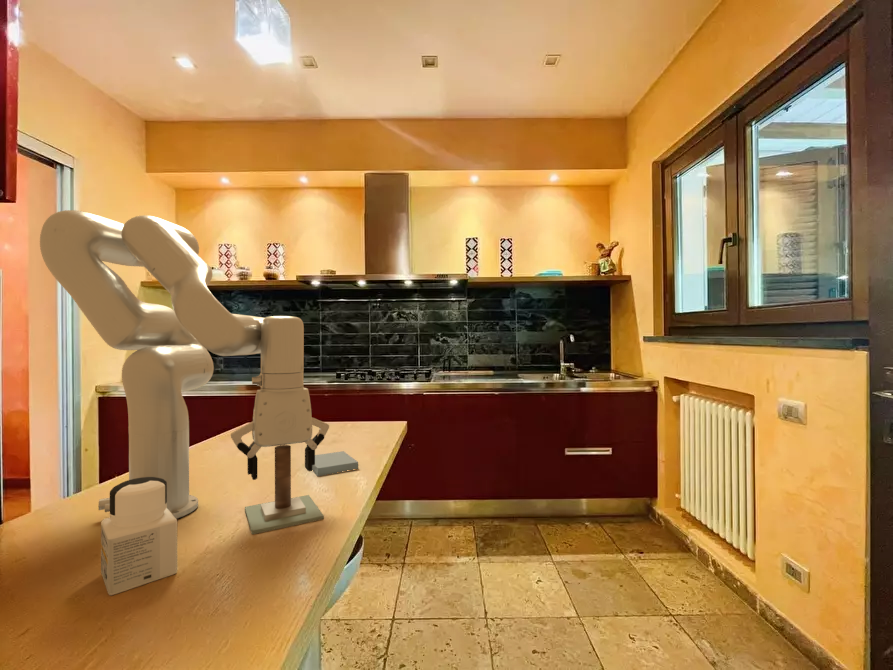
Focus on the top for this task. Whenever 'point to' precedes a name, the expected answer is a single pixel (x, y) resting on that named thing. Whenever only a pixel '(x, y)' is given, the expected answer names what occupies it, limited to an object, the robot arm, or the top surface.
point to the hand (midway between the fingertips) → (282, 473)
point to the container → (138, 535)
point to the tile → (333, 463)
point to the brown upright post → (282, 489)
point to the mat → (261, 525)
